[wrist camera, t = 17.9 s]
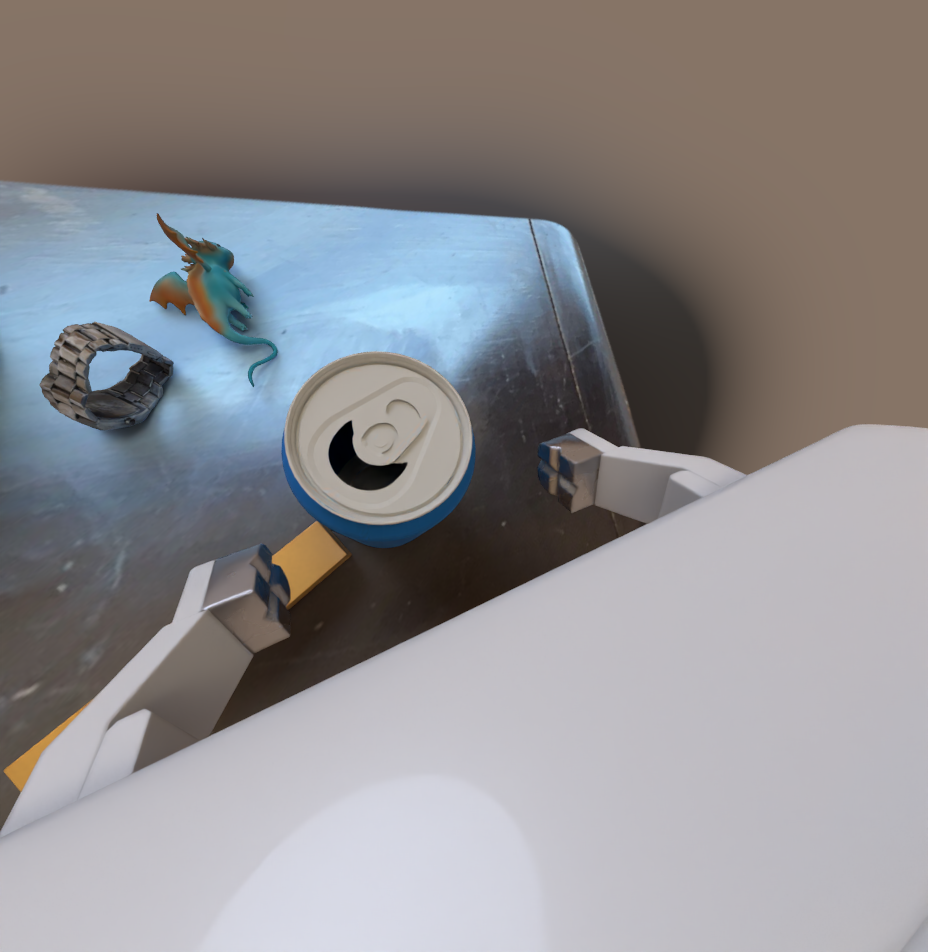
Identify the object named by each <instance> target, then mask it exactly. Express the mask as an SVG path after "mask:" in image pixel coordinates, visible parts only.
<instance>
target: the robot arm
mask: <svg viewBox="0 0 928 952" xmlns="http://www.w3.org/2000/svg"><path fill="white" fill-rule="evenodd" d="M538 457H539V458H540V459H541V460H542V461H541V462H540V464H539V466H538V477H539V480H540V483H541V485H542V486H543V488H544V489H545V490H546V491H547V492H548V493H549V494H553V495H557V496H558V502H560V503H561V504H562V505H563V506H564V507H565V508H566V509H568V510H569V511H570V512H571V513H573V512H575V511H578V510H580V509H583V508H585V507H588V506H590V505H593V504H595V505H596V506H599V507H602V508H604V509H607V510H610V511H613V512H616V513H618V514H621V515H624V516H627V517H630V518H633V519H635V520H638V521H641V522H644V523H647V524H646V525H644V526H642V527H640V528H638V529H636V530H634V531H632V532H630V533H628V534H626V535H624V536H622V537H619V538H617V539H615V540H613V541H611V542H609V543H607V544H605V545H603V546H601V547H599V548H597V549H595V550H593V551H591V552H589V553H586V554H584V555H582V556H580V557H578V558H576V559H574V560H572V561H570V562H568V563H566V564H564V565H562V566H560V567H558V568H555V569H553V570H551V571H549V572H547V573H545V574H543V575H541V576H539V577H537V578H535V579H533V580H531V581H529V582H527V583H524V584H522V585H520V586H518V587H516V588H514V589H512V590H510V591H508V592H506V593H504V594H502V595H500V596H498V597H496V598H494V599H491V600H489V601H487V602H485V603H483V604H481V605H479V606H477V607H475V608H473V609H471V610H469V611H467V612H465V613H463V614H461V615H458V616H456V617H454V618H452V619H450V620H448V621H446V622H444V623H442V624H440V625H438V626H436V627H434V628H432V629H430V630H428V631H425V632H423V633H421V634H419V635H417V636H415V637H413V638H411V639H409V640H407V641H405V642H403V643H401V644H399V645H397V646H395V647H392V648H390V649H388V650H386V651H384V652H382V653H380V654H378V655H376V656H374V657H372V658H370V659H368V660H366V661H364V662H362V663H359V664H357V665H355V666H353V667H351V668H349V669H347V670H345V671H343V672H341V673H339V674H337V675H335V676H333V677H331V678H328V679H326V680H324V681H322V682H320V683H318V684H316V685H314V686H312V687H310V688H308V689H306V690H304V691H302V692H300V693H298V694H295V695H293V696H291V697H289V698H287V699H285V700H283V701H281V702H279V703H277V704H275V705H273V706H271V707H269V708H267V709H265V710H262V711H260V712H258V713H256V714H254V715H252V716H250V717H248V718H246V719H244V720H242V721H240V722H238V723H236V724H234V725H232V726H229V727H227V728H225V729H223V730H221V731H219V732H217V733H215V734H213V735H211V736H210V734H211V732H212V730H213V728H214V726H215V725H216V723H217V721H218V719H219V717H220V716H221V714H222V712H223V710H224V708H225V707H226V705H227V703H228V701H229V699H230V697H231V696H232V694H233V692H234V690H235V688H236V687H237V685H238V683H239V681H240V679H241V678H242V676H243V674H244V672H245V670H246V669H247V667H248V665H249V663H250V661H251V659H252V658H253V654H254V653H256V652H258V651H260V650H262V649H264V648H266V647H269V646H271V645H273V644H275V643H277V642H279V641H281V640H284V639H286V638H288V637H290V618H291V614H290V612H289V611H288V610H287V608H286V606H287V604H288V603H289V601H290V600H291V591H290V586H289V582H288V579H287V577H286V575H285V572H284V571H283V569H282V568H281V566H279V565H276V564H273V563H272V553H271V552H270V551H269V549H268V548H267V547H266V546H265V545H263V544H260V545H257V546H254V547H251V548H248V549H245V550H242V551H239V552H236V553H233V554H230V555H227V556H224V557H222V558H219V559H217V560H213V561H210V562H207V563H205V564H202V565H199V566H196V567H195V568H193V569H192V570H191V571H190V573H189V576H188V579H187V582H186V585H185V587H184V590H183V593H182V596H181V599H180V602H179V605H178V607H177V610H176V613H175V616H174V619H173V622H172V623H171V624H169V625H167V626H164V627H163V628H162V629H161V630H160V631H159V632H158V633H157V634H156V635H155V636H154V637H153V638H152V639H151V640H150V641H149V642H148V644H147V645H146V646H145V647H144V648H143V649H142V650H141V651H140V652H139V653H138V654H137V655H136V656H135V657H134V658H133V659H132V660H131V661H130V662H129V663H128V664H127V665H126V666H125V667H124V668H123V669H122V670H121V671H120V672H119V673H118V674H117V675H116V676H115V677H114V679H113V680H112V681H111V682H110V683H109V684H108V685H107V686H106V687H105V688H104V689H103V690H102V691H101V692H100V693H99V694H98V695H97V696H96V697H95V698H94V699H93V700H92V701H91V702H90V703H89V704H88V705H87V706H86V707H85V708H84V709H83V710H82V711H81V712H80V714H79V715H78V716H77V717H76V718H75V719H74V720H73V721H72V722H71V723H70V724H69V725H68V726H67V727H66V728H65V729H64V730H63V731H62V732H61V733H60V734H59V735H58V736H57V737H56V738H55V739H54V740H53V741H52V742H51V743H50V744H49V745H48V746H47V747H46V748H45V750H44V751H43V752H42V753H41V755H40V757H39V759H38V761H37V763H36V765H35V767H34V769H33V771H32V772H31V774H30V776H29V778H28V780H27V782H26V784H25V786H24V788H23V790H22V792H21V793H20V795H19V797H18V799H17V801H16V803H15V805H14V807H13V809H12V811H11V813H10V814H9V816H8V818H7V820H6V822H5V824H4V826H3V828H2V830H1V832H0V952H928V428H918V427H907V426H892V425H867V424H863V425H862V424H861V425H854V426H850V427H847V428H845V429H842V430H840V431H838V432H836V433H834V434H832V435H830V436H828V437H826V438H824V439H822V440H820V441H817V442H815V443H813V444H811V445H809V446H807V447H805V448H803V449H801V450H799V451H797V452H795V453H793V454H791V455H789V456H787V457H785V458H783V459H780V460H779V461H776V462H774V463H772V464H770V465H768V466H766V467H764V468H762V469H760V470H758V471H756V472H754V473H752V474H750V475H745V474H743V473H740V472H738V471H736V470H734V469H732V468H729V467H727V466H725V465H723V464H721V463H719V462H716V461H714V460H712V459H710V458H707V457H699V456H692V455H684V454H677V453H670V452H663V451H655V450H647V449H640V448H633V447H625V446H622V447H619V448H618V447H617V446H615V445H613V444H611V443H609V442H607V441H605V440H604V439H602V438H600V437H598V436H596V435H594V434H593V433H591V432H589V431H587V430H585V429H577V430H574V431H572V432H569V433H567V434H565V435H562V436H560V437H557V438H554V439H552V440H549V441H546V442H544V443H541V444H539V447H538Z"/></svg>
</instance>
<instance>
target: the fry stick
mask: <svg viewBox="0 0 928 952" xmlns="http://www.w3.org/2000/svg"><path fill="white" fill-rule="evenodd" d="M351 555H352V554H351V553H350V552H349V550H348V549H347V548H346V547H345V546H344V545H343V544H342V543H341V541H340V540H339V539H338V538H337V537H336V536H335V535H334V534H333V532H332V531H331V530H330V529H329V528H328V527H326V526H324V525H323V524H321V523H320V522H318V521H316V522H315V523H313V524H312V525H311V526H310V527H308V528H307V529H306V530H305V531H303V532H302V533H301V534H300V535H298V536H297V537H296V538H295V539H293V540H292V541H291V542H290V543H288V544H287V545H286V546H285V547H283V548H282V549H281V550H280V551H278V552H277V553H276V554H275V555H273V556H272V563H273V564H276V565H279V566H281V568H282V569H283V571H284V572H285V575H286V577H287V579H288V582H289V586H290V591H291V600H290V601H289V603H288V604H287V606H286V608H287V610H289V609H290V608H291V607H293V606H294V605H295V604H296V603H297V602H298V601H300V600H301V599H302V598H303V597H304V596H305V595H306V594H308V593H309V592H310V591H311V590H312V589H313V588H314V587H316V586H317V585H318V584H319V583H320V582H321V581H323V580H324V579H325V578H326V577H327V576H328V575H329V574H331V573H332V572H333V571H334V570H335V569H336V568H338V567H339V566H340V565H341V564H342V563H343V562H344V561H346V560H347V559H348V558H349V557H350V556H351ZM92 700H93V699H92ZM92 700H91V701H92ZM91 701H90V702H91ZM90 702H89V703H90ZM89 703H87V704H86V705H85V706H84V707H82V708H81V709H80V710H79V711H77V712H76V713H75V714H74V715H72V716H71V717H70V718H69V719H67V720H66V721H65V722H64V723H62V724H61V725H60V726H59V727H57V728H56V729H55V730H54V731H52V732H51V733H50V734H49V735H47V736H46V737H45V738H43V739H42V740H41V741H40V742H38V743H37V744H36V745H35V746H33V747H32V748H31V749H30V750H28V751H27V752H26V753H25V754H23V755H22V756H21V757H20V758H18V759H17V760H16V761H15V762H13V763H12V764H11V765H10V766H8V767H7V768H6V769H5V770H4V772H5V774H6V775H7V776H8V777H9V778H10V780H11V781H12V782H13V783H14V784H15V786H16V787H17V788H18V789H19V790H20V792H22V790H23V788H24V786H25V784H26V782H27V780H28V778H29V776H30V774H31V772H32V771H33V769H34V767H35V765H36V763H37V761H38V759H39V757H40V755H41V753H42V752H43V751H44V750H45V748H46V747H47V746H48V745H49V744H50V743H51V742H52V741H53V740H54V739H55V738H56V737H57V736H58V735H59V734H60V733H61V732H62V731H63V730H64V729H65V728H66V727H67V726H68V725H69V724H70V723H71V722H72V721H73V720H74V719H75V718H76V717H77V716H78V715H79V714H80V712H81V711H82V710H83V709H84V708H85V707H86V706H87V705H88V704H89Z"/></svg>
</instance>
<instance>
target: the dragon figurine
mask: <svg viewBox="0 0 928 952" xmlns="http://www.w3.org/2000/svg"><path fill="white" fill-rule="evenodd" d="M157 220H158V222H159V224H160V226H161V228H162V229H163V231H164V233H165V234H166V235H167V237H168V238H169V239H170V240H171V241H172V242H174V243H175V244H176V245H177V246H178V247H179V248H181V249H182V250H183V251H184V252H185V253H186V254H185V255H186V257H185V256H181V257H182V261H184V262H188V264H190V263H194V264H190V265H191V266H184V267H186V268H182V269H181V270H184V271H186V272H188V274H189V275H188V279H187V282H186V281H184V280H183V279H182V278H181V277H180V276H179V275H178V274H177V273H176V272H171V273H168V274H167V275H165V276H163V277H162V278H161V279H160V280H158V281H157V282H156V284H155V286H154V288H153V290H152V293H151V296H150V302H151V301H155V302H157V303H158V304H160V305H161V306H162V307H163V308H164V309H167V303H169V302H170V303H172V304H174V305H175V306H176V307H177V308H179V309H180V310H181V312H182V313H183V314H184V315H186V312H185V307H186V305H187V304H192V305H195V308H196V309H197V311H198V312H199V314H200V317H201V318H202V320H204V321H205V322H206V323H208V325H209V326H210V327H211V328H213V329H214V330H215V331H216V332H218V333H219V334H221V335H223V336H224V337H226V338H227V339H229V340H231V341H233V342H236V343H239V344H244V345H252V344H268V345H270V346H271V347H272V348H273V353H272V355H270V356H269V357H268V358H266V359H264V360H261V361H258V362H256V363H254V364H253V365H251V367H250V369H249V371H248V378H249V381H250V383H251V384H252V386H253V387H254V383H253V380H252V373H253V370H254V369H255V367H257V366H258V365H261V364H263V363H266V362H268V361H270V360H271V359H273V358H274V357H275V356H276V355H277V348H276V346H275V345H274V344H273V343H272V342H271V341H269V340H267V339H263V338H254V337H247V336H244V335H241V334H239V333H237V332H236V331H234V330H233V329H232V328H231V326H230V325H229V323H231V324H233V325H235V326H236V327H237V328H239V329H240V330H242V331H244V329H245V330H247V327H246V326H245V325H244V324H242V323H240V322H239V321H238V320H237V319H236V318H235V317H234V316H233V315H232V314H231V313H230V311H233V310H237V311H238V312H240V313H241V314H242V315H243V316H244V317H245V318H246V319H247V318H248V317H249V318H251V317H253V316H252V315H251V314H250V313H249V312H248V311H247V309H248V306H247V305H246V304H245V303H242V302H241V295H240V291H239V289H238V288H240V289H242V290H243V292H244V293H245V294H246V295H247V296H248V297H249V296H252V297H254V296H253V294H252V293H251V292H250V291H249V290H248V289H247V288H246V287H245V285H244V284H242V283H241V282H240V281H239V280H238V279H237V278H235V277H234V276H233V275H232V274H231V273H229V270H230V269H231V267H232V266H233V264H234V256H233V254H232V252H231V251H229V250H227V249H225V248H223V247H221V246H220V245H219V244H216V243H213V242H209V241H207V240H204V239H203V238H202V239H203V241H199V242H198V241H196V240H193V239H191V238H188V237H186V238H184V236H183V235H182V234H181V233H180V232H178V231H177V230H175V229H173V228H171V227H169V226H168V225H166V224H165V223H164V221H163V220H162V219H161V217H160V216H159V214H157ZM188 244H190V245H191V246H192V248H190V246H189V245H188ZM228 322H229V323H228Z"/></svg>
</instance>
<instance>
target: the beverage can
mask: <svg viewBox="0 0 928 952" xmlns="http://www.w3.org/2000/svg"><path fill="white" fill-rule="evenodd" d="M282 460H283V468H284V471H285V475H286V478H287V481H288V483H289V486H290V488H291V490H292V492H293V494H294V495H295V497H296V498H297V500H298V501H299V503H300V504H301V505H302V506H303V507H304V509H305V510H306V511H307V512H308V513H309V514H310V515H311V516H312V517H314V518H315V519H316V520H317V521H318V522H320V523H321V524H323V525H324V526H326V527H328V528H329V529H331V530H333V531H335V532H337V533H339V534H342V535H344V536H346V537H349V538H351V539H353V540H356V541H358V542H360V543H363V544H365V545H368V546H371V547H377V548H392V547H397V546H401V545H403V544H406V543H408V542H410V541H412V540H414V539H415V538H417V537H418V536H420V535H421V534H423V533H425V532H426V531H428V530H429V529H431V528H432V527H434V526H435V525H437V524H438V523H439V522H441V521H442V520H443V519H444V518H446V517H447V516H448V515H449V514H450V513H451V512H452V511H453V510H454V508H455V507H456V506H457V505H458V504H459V502H460V501H461V499H462V498H463V496H464V494H465V493H466V491H467V488H468V486H469V484H470V481H471V478H472V475H473V471H474V465H475V440H474V434H473V430H472V426H471V423H470V419H469V415H468V412H467V410H466V407H465V405H464V403H463V401H462V399H461V397H460V396H459V394H458V393H457V391H456V390H455V389H454V387H453V386H452V385H451V384H450V383H449V382H448V381H447V380H446V379H445V378H444V377H443V376H442V375H441V374H440V373H438V372H437V371H436V370H434V369H433V368H431V367H430V366H428V365H426V364H424V363H422V362H421V361H419V360H416V359H413V358H411V357H408V356H404V355H401V354H396V353H390V352H363V353H358V354H353V355H349V356H346V357H343V358H340V359H338V360H336V361H333V362H331V363H329V364H328V365H326V366H324V367H323V368H321V369H320V370H318V371H317V372H316V373H315V374H314V375H312V376H311V377H310V378H309V379H308V380H307V381H306V382H305V384H304V385H303V386H302V387H301V389H300V390H299V391H298V393H297V394H296V396H295V398H294V400H293V402H292V404H291V406H290V409H289V412H288V415H287V418H286V424H285V428H284V432H283V438H282Z"/></svg>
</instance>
